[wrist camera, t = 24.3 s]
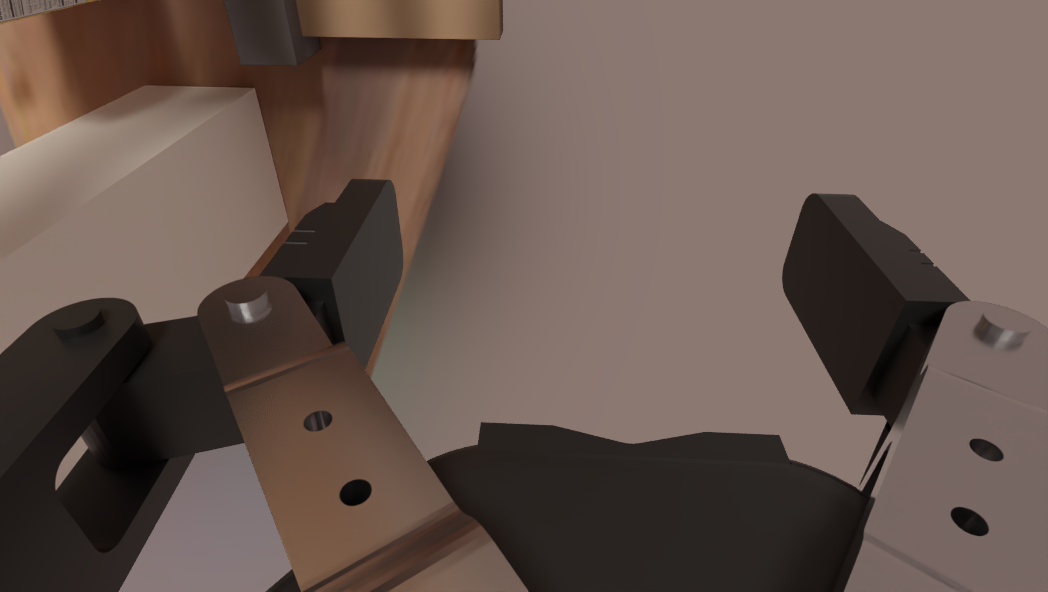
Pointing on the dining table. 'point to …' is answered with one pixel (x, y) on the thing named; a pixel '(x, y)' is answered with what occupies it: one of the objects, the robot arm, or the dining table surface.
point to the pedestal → (137, 208)
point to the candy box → (33, 8)
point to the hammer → (351, 24)
